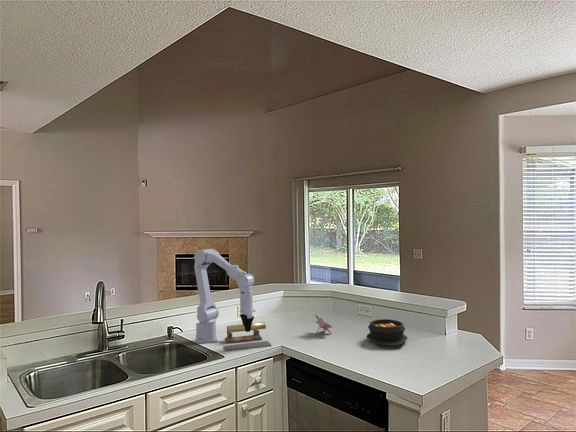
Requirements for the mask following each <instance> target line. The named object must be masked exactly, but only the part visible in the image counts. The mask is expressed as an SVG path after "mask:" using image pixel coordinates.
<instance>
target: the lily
mask: <svg viewBox="0 0 576 432" xmlns="http://www.w3.org/2000/svg"><path fill="white" fill-rule="evenodd" d="M313 315H314V316H315V319H316V320H315V321H314V323H316V324H317V325H318V327H319V328H318V329H317V330H316V334H315V336H317V335H318V332H319V331H320V329H323V331H324V332H326V331H327V332H328V333H330V334H332V332H331V330H330V329H331V328H333V325H331V324H330V323H327V322H325V320H324V319H323V317H320V316H319V315H317V314H316V313H313Z"/></svg>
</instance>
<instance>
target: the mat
mask: <svg viewBox="0 0 576 432" xmlns="http://www.w3.org/2000/svg"><path fill="white" fill-rule="evenodd" d="M222 347H223V349H224V351H225V352H231V351H233V352H234V351H239V350H241V351H242V350H249V349H257V348H265V347H266V348H267V347H272V344H271V343H270V341H268V340H265V341H263V340H261V341H256V342H255V341H252V342H243V343H234V344H226V345H223V346H222Z"/></svg>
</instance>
